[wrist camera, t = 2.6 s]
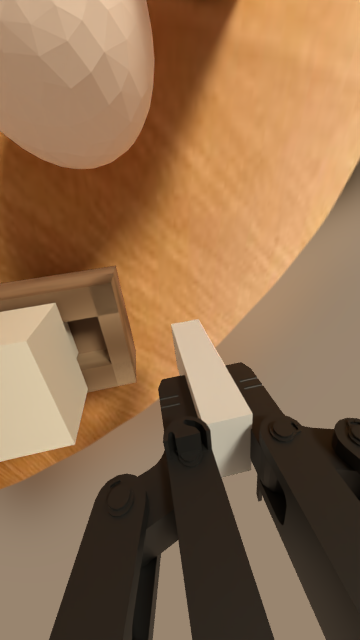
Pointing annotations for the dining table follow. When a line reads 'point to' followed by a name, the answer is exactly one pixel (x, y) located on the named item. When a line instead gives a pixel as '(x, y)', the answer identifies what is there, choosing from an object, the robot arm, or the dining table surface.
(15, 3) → the egg
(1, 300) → the beam
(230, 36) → the dining table surface
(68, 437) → the rider
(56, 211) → the dining table surface
